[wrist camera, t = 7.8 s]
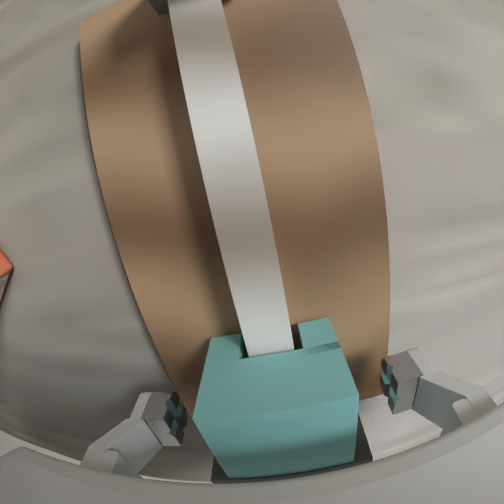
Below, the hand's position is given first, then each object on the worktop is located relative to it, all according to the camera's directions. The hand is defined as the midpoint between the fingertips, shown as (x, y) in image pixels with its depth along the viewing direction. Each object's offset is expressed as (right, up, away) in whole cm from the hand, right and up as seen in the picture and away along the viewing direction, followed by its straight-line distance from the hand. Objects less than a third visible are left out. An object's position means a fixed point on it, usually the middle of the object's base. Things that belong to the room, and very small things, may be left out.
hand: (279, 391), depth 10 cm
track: (-1, +7, +1) cm, 7 cm away
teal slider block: (0, +1, +1) cm, 1 cm away
